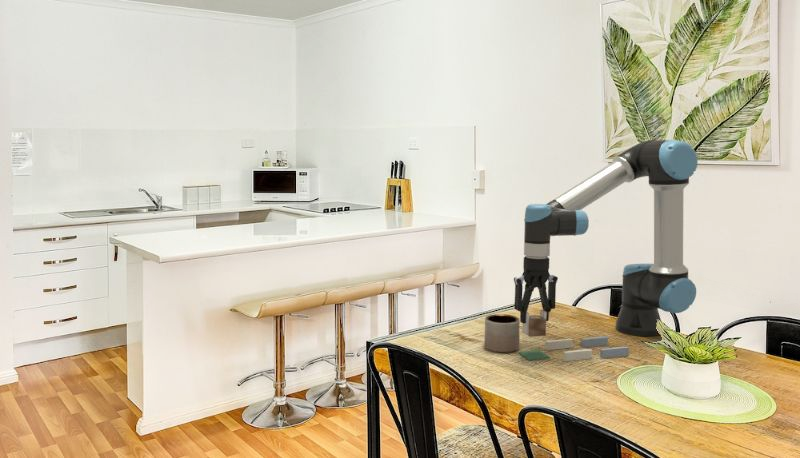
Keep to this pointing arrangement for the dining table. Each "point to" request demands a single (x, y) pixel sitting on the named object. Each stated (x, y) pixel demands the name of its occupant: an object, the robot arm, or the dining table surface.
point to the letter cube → (537, 326)
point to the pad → (534, 355)
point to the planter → (502, 333)
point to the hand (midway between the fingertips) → (534, 332)
